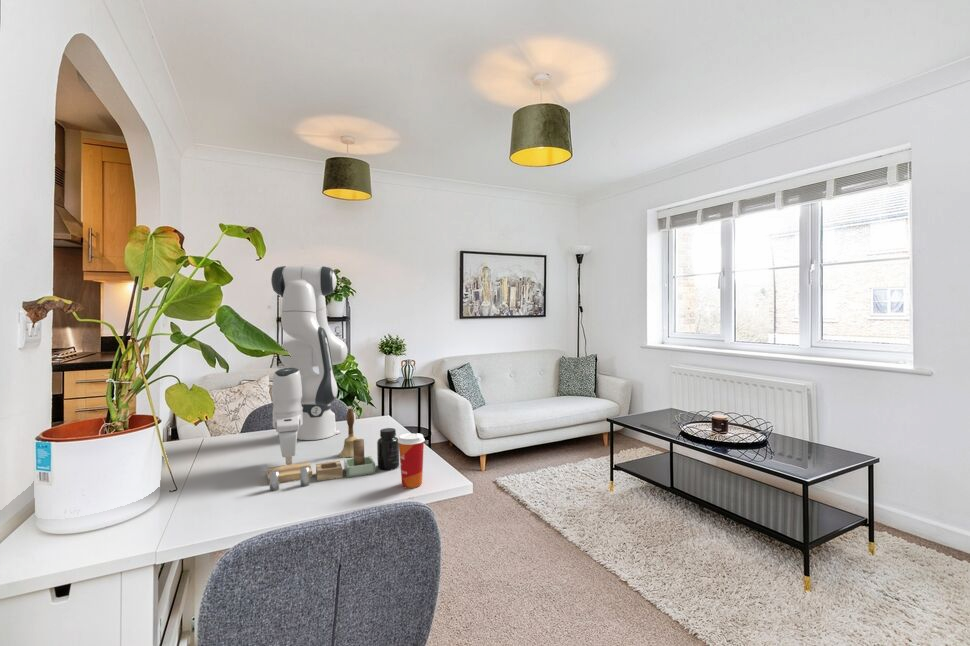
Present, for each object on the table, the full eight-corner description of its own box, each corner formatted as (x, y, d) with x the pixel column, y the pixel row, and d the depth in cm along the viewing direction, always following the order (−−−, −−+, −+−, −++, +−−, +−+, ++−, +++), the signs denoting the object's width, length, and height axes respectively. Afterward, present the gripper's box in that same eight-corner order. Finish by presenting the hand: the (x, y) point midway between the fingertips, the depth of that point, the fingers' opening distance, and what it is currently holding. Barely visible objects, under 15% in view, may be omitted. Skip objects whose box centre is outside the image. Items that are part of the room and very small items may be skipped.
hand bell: (334, 457, 158) (333, 410, 158) (347, 450, 166) (346, 405, 166) (355, 458, 156) (354, 411, 156) (368, 451, 164) (367, 406, 164)
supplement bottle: (373, 467, 147) (372, 430, 147) (391, 462, 152) (390, 425, 152) (385, 472, 142) (385, 433, 142) (403, 466, 147) (403, 429, 147)
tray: (344, 469, 146) (344, 459, 146) (370, 465, 149) (370, 456, 149) (347, 477, 138) (347, 467, 138) (375, 473, 141) (375, 463, 141)
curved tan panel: (267, 475, 142) (267, 467, 142) (309, 469, 147) (309, 461, 147) (268, 486, 133) (268, 477, 133) (312, 479, 138) (312, 471, 138)
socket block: (316, 473, 142) (316, 463, 142) (339, 470, 145) (339, 460, 145) (317, 481, 135) (317, 471, 135) (342, 477, 138) (342, 467, 138)
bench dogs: (269, 488, 130) (269, 471, 130) (309, 482, 134) (308, 465, 134) (269, 491, 128) (269, 473, 128) (309, 485, 132) (309, 468, 132)
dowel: (353, 468, 145) (352, 439, 144) (363, 466, 146) (363, 438, 146) (354, 471, 142) (353, 442, 142) (365, 469, 143) (364, 440, 143)
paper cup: (401, 479, 136) (400, 432, 135) (427, 479, 136) (426, 432, 135) (395, 490, 128) (394, 439, 128) (423, 490, 128) (422, 439, 127)
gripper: (277, 414, 155) (278, 455, 155) (276, 428, 136) (277, 474, 136) (298, 412, 157) (298, 452, 157) (299, 425, 138) (300, 471, 139)
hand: (288, 463), depth 147 cm, fingers closed
